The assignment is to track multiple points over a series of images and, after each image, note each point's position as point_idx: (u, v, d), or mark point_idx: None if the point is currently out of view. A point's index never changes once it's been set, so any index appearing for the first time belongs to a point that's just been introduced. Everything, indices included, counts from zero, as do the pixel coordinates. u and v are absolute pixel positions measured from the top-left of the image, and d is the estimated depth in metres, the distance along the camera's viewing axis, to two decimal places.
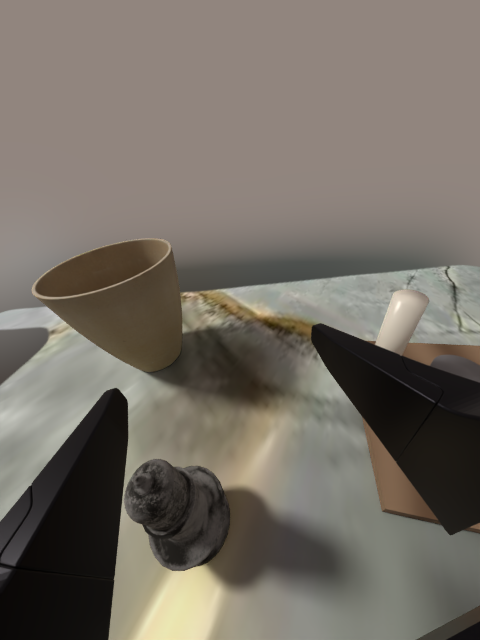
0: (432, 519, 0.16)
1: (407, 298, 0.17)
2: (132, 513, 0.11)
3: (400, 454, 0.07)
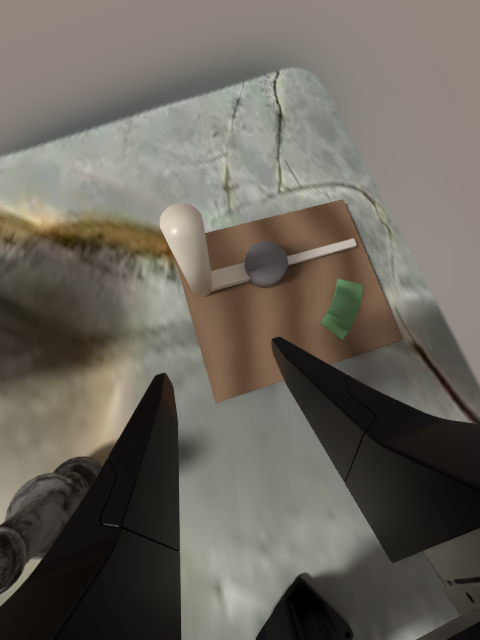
0: (245, 392, 0.22)
1: (177, 225, 0.12)
2: None
3: (346, 476, 0.07)
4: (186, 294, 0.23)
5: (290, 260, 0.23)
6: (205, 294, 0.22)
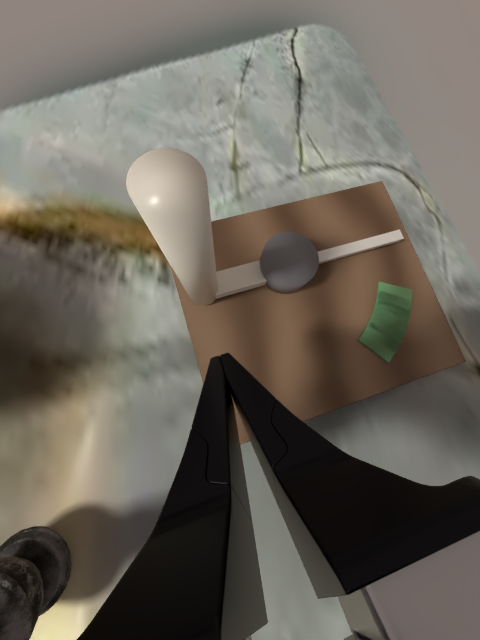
0: None
1: (159, 186, 0.06)
2: None
3: (278, 504, 0.07)
4: (182, 302, 0.17)
5: (319, 257, 0.18)
6: (208, 302, 0.17)
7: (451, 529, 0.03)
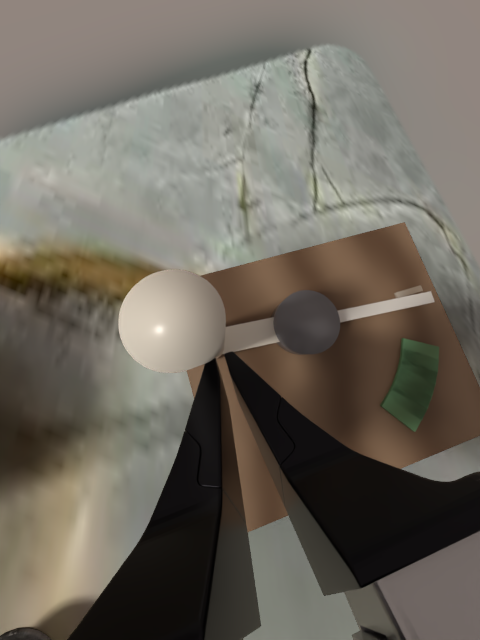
0: None
1: (161, 325, 0.05)
2: None
3: (284, 502, 0.07)
4: None
5: (339, 317, 0.16)
6: None
7: (463, 523, 0.03)
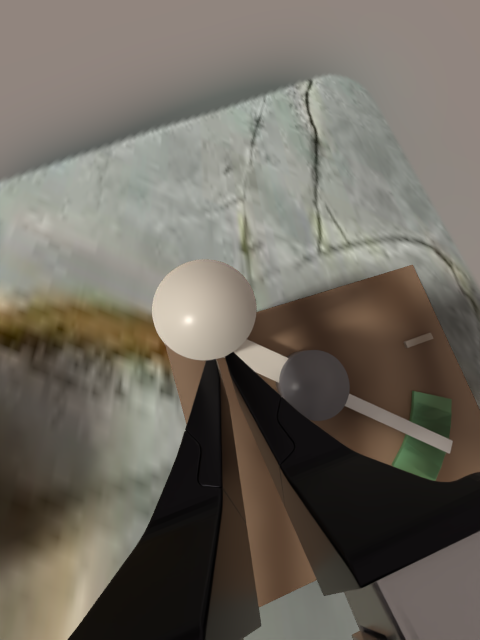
0: (283, 591, 0.14)
1: (192, 307, 0.05)
2: None
3: (284, 502, 0.07)
4: None
5: (346, 401, 0.15)
6: None
7: (463, 523, 0.03)
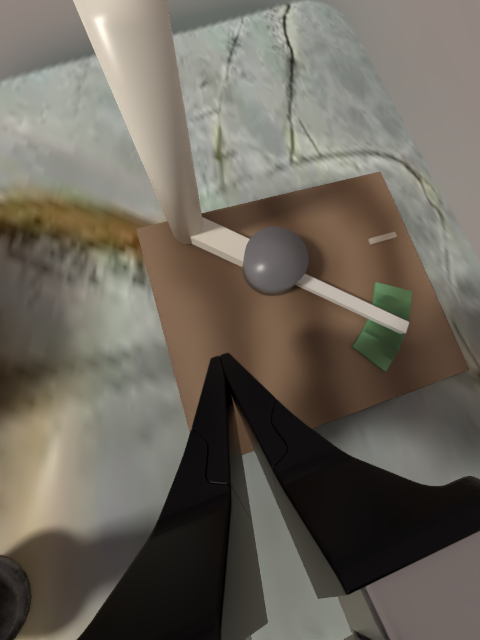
0: None
1: None
2: None
3: (278, 504, 0.07)
4: (158, 305, 0.16)
5: (308, 283, 0.16)
6: (180, 239, 0.16)
7: (451, 529, 0.03)
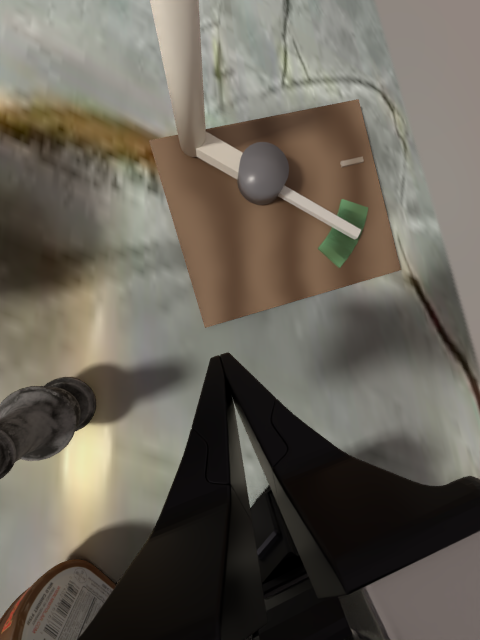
0: None
1: None
2: None
3: (278, 504, 0.07)
4: (171, 208, 0.20)
5: (288, 194, 0.20)
6: (187, 151, 0.19)
7: (451, 529, 0.03)
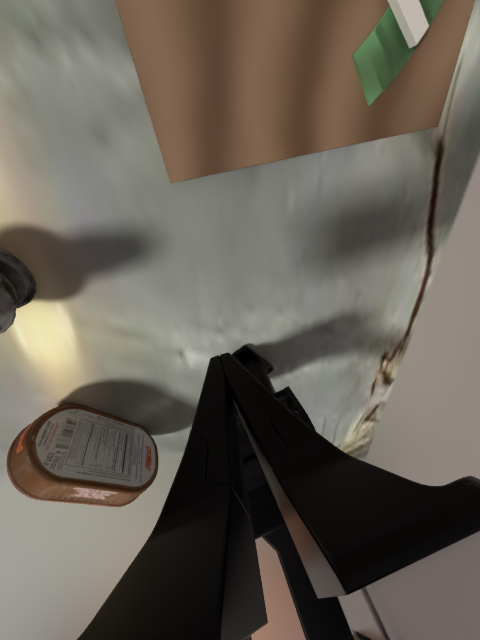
0: None
1: None
2: None
3: (278, 504, 0.07)
4: None
5: None
6: None
7: (451, 529, 0.03)
